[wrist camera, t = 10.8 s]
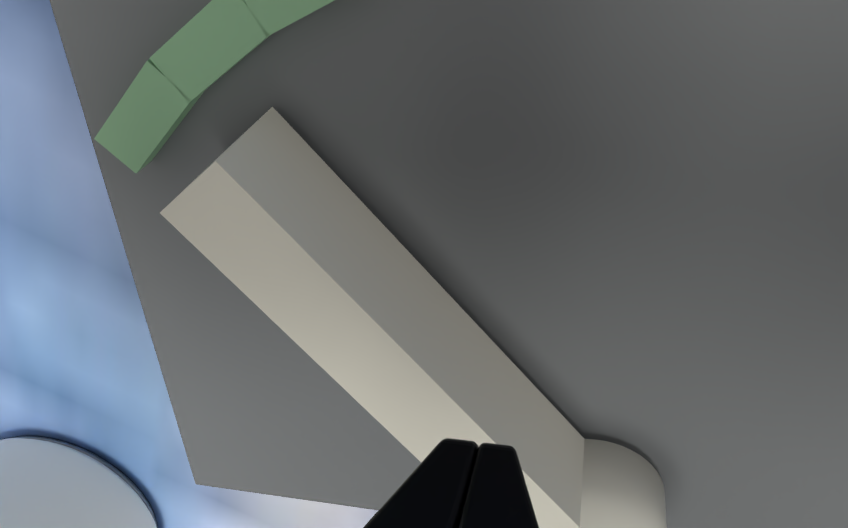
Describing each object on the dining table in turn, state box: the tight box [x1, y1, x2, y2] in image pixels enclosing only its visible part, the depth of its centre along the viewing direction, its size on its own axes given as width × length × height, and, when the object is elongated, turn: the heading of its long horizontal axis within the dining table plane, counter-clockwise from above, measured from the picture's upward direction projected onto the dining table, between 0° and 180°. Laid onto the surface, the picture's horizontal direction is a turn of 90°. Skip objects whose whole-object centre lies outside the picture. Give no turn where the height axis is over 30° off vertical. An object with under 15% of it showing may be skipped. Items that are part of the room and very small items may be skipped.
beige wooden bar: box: [160, 107, 667, 528], centre depth 15 cm, size 13×3×2 cm, turn 42°
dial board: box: [50, 0, 848, 528], centre depth 15 cm, size 16×21×2 cm
